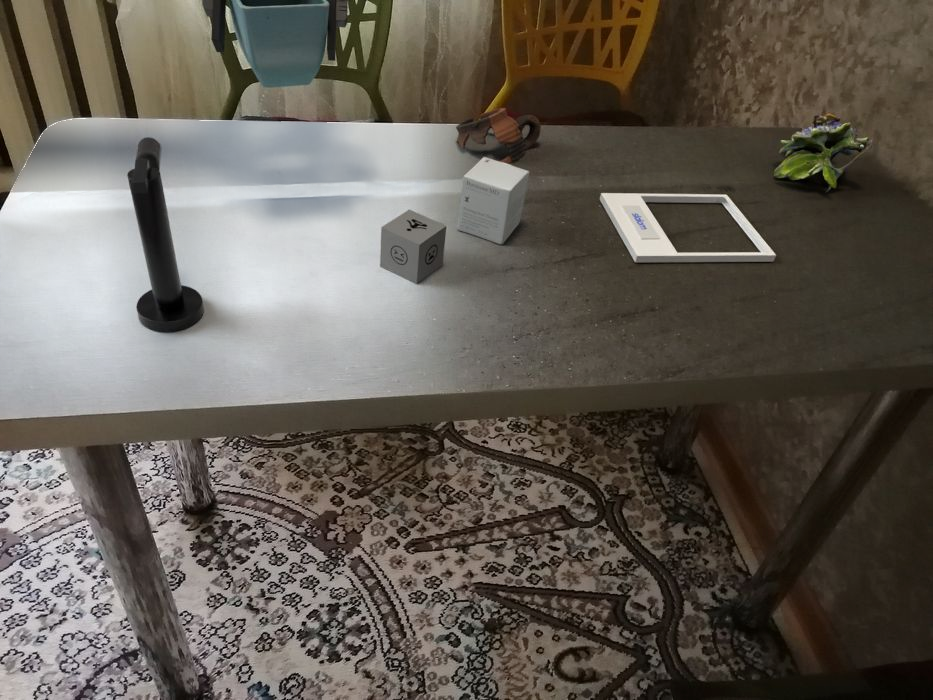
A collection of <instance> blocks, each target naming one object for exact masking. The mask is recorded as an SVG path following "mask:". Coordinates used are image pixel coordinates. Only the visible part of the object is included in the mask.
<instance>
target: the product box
mask: <svg viewBox="0 0 933 700" xmlns="http://www.w3.org/2000/svg"><path fill="white" fill-rule="evenodd" d="M499 161H500V160H495V159H492V158H490V157H486V156H483V157H482V158H481V159H480V160H479V161H478V162H477V163H476V164H475V165H474V166H473V167H472V168H471V169H470V170H468V171H467V173H465V174H464V175H463V178H462V188H461V194H460V202H459V211H458V219H457V220H458V221H457V230H458V231H460V232H464V233H467V234H470V235H473V236H476V237H478V238H481V239H485V240H487V241H489V242H492V243H495V244H498V245H504V244H505V242H506V241H507V239H508V238H509V237H510V235H511V234H512V233H513V232H514V231H515V229H516V228H517V227H518V226H519V225H520V223H521V218H522V212H523V209H524V203H525V198H526V193H527V186H528V181H529V176H530V171H529V170H526V169H524V168H521V167H517V166H514V165H512V164H507V163H503V162H499Z"/></svg>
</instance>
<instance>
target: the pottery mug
mask: <svg viewBox="0 0 933 700" xmlns="http://www.w3.org/2000/svg"><path fill="white" fill-rule="evenodd" d="M526 126H528V127H529V130H528V133H527V135H526V136H525V137H524V136H523V135H524V134H523V130H524V129H525V127H526ZM541 128H542V126H541V123H540V120H539V119H538V118H537V117H536V116H535V115H532V114H525V115H522V116H518V117H511V116H509V115H508V112H507V108H505V107H499V108H496V109H492V110H489V111H486V112H483V113H481V114H479V119H478V120H477V119H476V120H474V118H473V117H470V118H467V119H466V120H464V121H461V122H460V123H458V124H457V125H456V126H455V129H456V131H457V133H458V134H457V137H456V141H455V142H456V143H457V144H458V145H460V147H461V149H462V150H464V149H465V148H466V144H467V141H468V139H469V138H470V139H471V140H473V141H474V142H476V144H478V145H486V144H487V141H486V140H487V139H486V138H487V137H488V133H489V131H490V130H492V131H493V134H494V138H495V140H497V142H499V144H504V146H505V149H506V151H507V156H506V157H505V158H503V159H501V160H498V161H499V162H503V163H507V164H510V165H512V164H514V163H515V164H516V163H517V162H520V160H521V159H523V157H524V156H525V155H526V151H528V149H530V148H531V147H533V146H534V145H535V143H536V142H537V141H538V139H539V137H540V135H541Z"/></svg>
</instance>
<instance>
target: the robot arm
mask: <svg viewBox="0 0 933 700" xmlns="http://www.w3.org/2000/svg"><path fill="white" fill-rule="evenodd" d="M327 2H328V3H329V15H328V27H327V38H326V54H327V60H328V61H333V62H336V53H337V28H346V27H347V25H348V10H349V9H348V7H349V0H327ZM201 6H202V8H203V10H204V13H205V15H206V17H208V18H209V17H210V18H211V36H210V37H211V38H210V39H211V43H212V45H213V47H214V49H215V52H216V53H225V41H226V20H227V19H226V18H227V17H226V15H227V0H201Z"/></svg>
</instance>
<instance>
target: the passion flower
mask: <svg viewBox="0 0 933 700" xmlns="http://www.w3.org/2000/svg"><path fill="white" fill-rule="evenodd" d="M841 120H842V117H841V116H835V114H831V113H827V114H826V115H825V116H824V115H821V114H817V113H816V114H814V115H813V118H812V121H811V123H812V125H813V126H808V127H807V128H803V127H801V129H802V130H801V131H795V133H793V134H792V135H791V138H790V139H789V140H783V139H782V140H780V144H781V145H782V147H781V148H780V150H779V151H778V154H782V153H784V152H786V151H787V152H786V153H785V156H784V157H785V159H784V160H783V161H782V162H781V163H780V164H779V165H778V166H777V167H776V168H775V169H774V171H773V177H774V176H777V178H776V179H783V178H784V179H785V178H788V179H789V180H791V181H799V180H803V179H806V178H808V177H811V176H813V175H816V174H818V173H819V172H821V171H822V176H823V178H824V181H826V183H827V184H828V187H827V189H826V191H825V193H826V192H829V191H830V190H831V189H832V188H833V189H836V188H837V180H838V178H839V177H840V176H842V174H844V173H845V170H846V169H847V168H848V167H849V166H851V164H853V163H854V162H855V161H856V160H858V159H859V158H860V157H861V156H863V155H864V154H866V153H867V152H868V151H869V150H870V149H872V148H873V147H872V146H873V140H874V139H873V138H872V139H870V138H869V137H864V138H858V133H859V131H858V129H857V128H856V127H854V126H853V125H852V123H851V122H849V121H848V122H845V123H841V122H840V121H841ZM856 137H857V138H856ZM855 139H856V141H855ZM869 140H870V141H869ZM853 151H857V152H858V154H857V155H856V156H855V157H854V158H852V159H851V160H850V161H849V162H848V163H846V164H845V165H844V166H841V167H835V166H834V165H833V163H832V161H833V159H834V158H835V157H836V156H837V155H839V154H842V155H845V156H852V155H853Z"/></svg>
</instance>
